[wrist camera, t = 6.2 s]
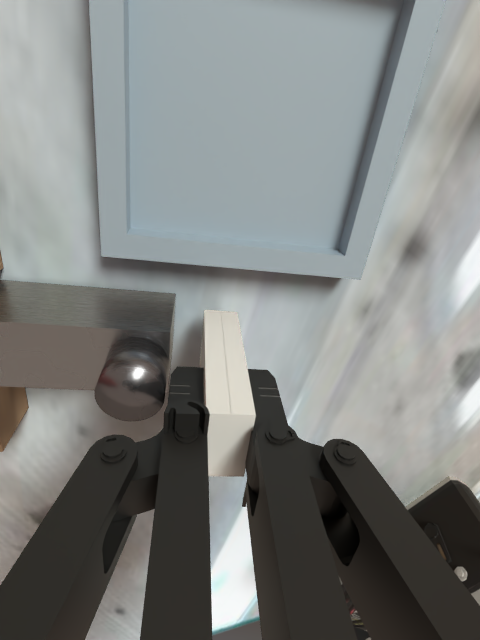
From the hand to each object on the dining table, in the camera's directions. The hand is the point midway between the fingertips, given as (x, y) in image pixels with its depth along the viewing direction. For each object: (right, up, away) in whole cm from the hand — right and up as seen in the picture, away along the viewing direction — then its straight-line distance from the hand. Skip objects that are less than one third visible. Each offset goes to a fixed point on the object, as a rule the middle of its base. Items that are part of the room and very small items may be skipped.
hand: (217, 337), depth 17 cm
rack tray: (+2, +8, -3) cm, 9 cm away
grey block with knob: (-7, +1, 0) cm, 7 cm away
